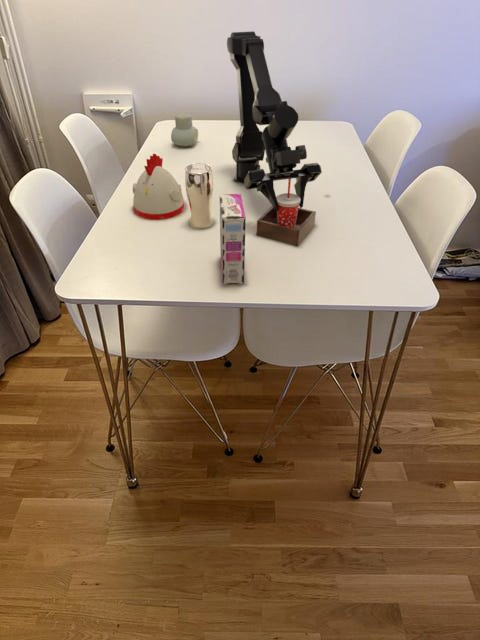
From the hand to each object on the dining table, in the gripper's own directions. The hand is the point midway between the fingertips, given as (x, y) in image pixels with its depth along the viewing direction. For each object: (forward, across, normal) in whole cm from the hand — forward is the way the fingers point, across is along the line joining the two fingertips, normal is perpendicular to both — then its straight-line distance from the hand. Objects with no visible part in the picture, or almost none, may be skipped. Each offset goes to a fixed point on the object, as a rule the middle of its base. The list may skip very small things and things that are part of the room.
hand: (289, 209), depth 114 cm
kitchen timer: (-12, -30, +22) cm, 38 cm away
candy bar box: (+14, -18, -4) cm, 23 cm away
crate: (+4, 0, +6) cm, 7 cm away
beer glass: (-3, -20, +13) cm, 24 cm away
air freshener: (-45, -13, +55) cm, 73 cm away
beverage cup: (+4, 0, +6) cm, 7 cm away
